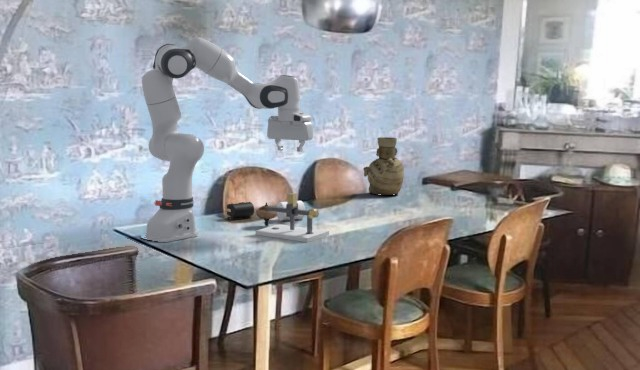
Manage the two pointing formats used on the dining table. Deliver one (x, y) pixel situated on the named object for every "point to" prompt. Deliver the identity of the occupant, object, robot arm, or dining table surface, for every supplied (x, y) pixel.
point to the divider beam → (310, 214)
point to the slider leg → (291, 208)
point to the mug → (282, 215)
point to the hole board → (292, 233)
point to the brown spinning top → (265, 214)
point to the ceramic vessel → (385, 169)
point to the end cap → (240, 210)
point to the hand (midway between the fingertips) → (289, 150)
